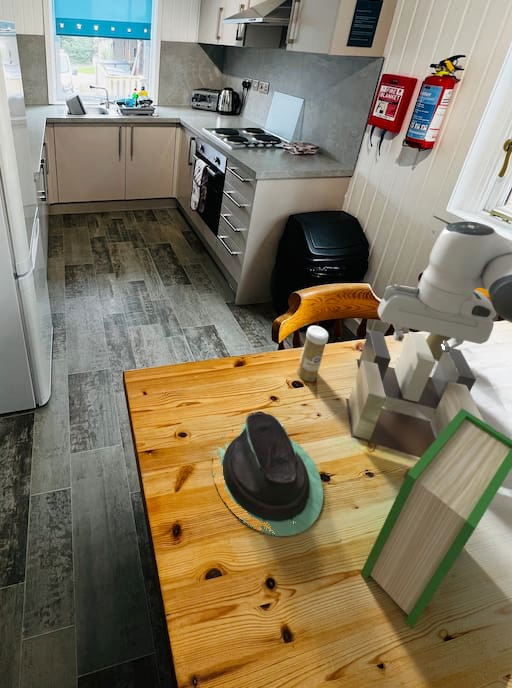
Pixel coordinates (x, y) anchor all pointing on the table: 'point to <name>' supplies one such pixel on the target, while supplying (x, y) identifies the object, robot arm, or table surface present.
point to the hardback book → (438, 511)
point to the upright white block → (414, 366)
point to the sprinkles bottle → (312, 353)
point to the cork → (436, 344)
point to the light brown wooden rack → (400, 414)
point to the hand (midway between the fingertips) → (420, 344)
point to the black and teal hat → (272, 477)
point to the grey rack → (446, 371)
